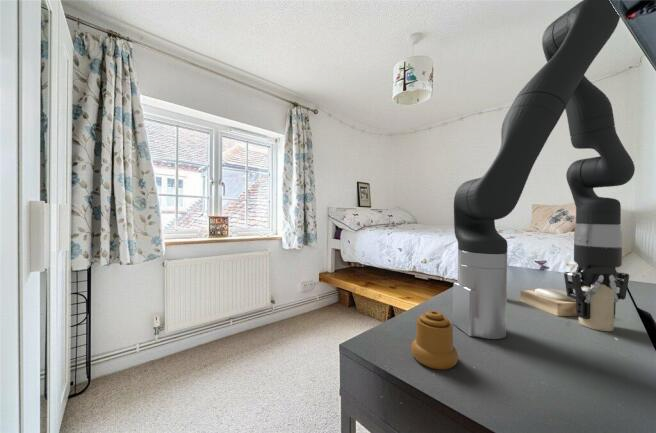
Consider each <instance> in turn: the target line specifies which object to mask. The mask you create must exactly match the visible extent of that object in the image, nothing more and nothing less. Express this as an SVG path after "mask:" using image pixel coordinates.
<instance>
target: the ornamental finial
mask: <svg viewBox="0 0 656 433" xmlns="http://www.w3.org/2000/svg"><path fill="white" fill-rule="evenodd" d="M453 325H454V324H453V322H451V321H450V319H449V318H448V317H447V316H445V315H444V314H443V313H442V312H440V311H437V310H431V309H430V310H427V311H426V312H425V313H421V314H420V316H418V317H417V318H416V330H415V339H413V341H412V343H411V349H410V350H411V354H412V356H413V357H414V358H415V360H416V361H417V362H419V364H421V365H423V366H425V367H427V368H431V369H435V370H449V369H452V368H453V367H455V366H456V364H457V363H458V361H459V354H458V351H457V349H456V347H455V346H454V333H453V330H454V329H453V328H454V327H453Z"/></svg>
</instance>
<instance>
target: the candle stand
mask: <svg viewBox="0 0 656 433" xmlns="http://www.w3.org/2000/svg"><path fill="white" fill-rule="evenodd" d="M519 299H520V302H522V303H524V304H526V305H528V306H532V307H533V308H536V309H538V310H541V311H543V312H546V313H548V314H552V315H554V316H557V317H567V316H568V317H570V316H573V317H574V316H575V317H578V316H577V313H576V300H575V299H573V298H571V297H568V296H567V291H564V290H561V289H554V288H553V289H552V288H539V287H538V288H535V289H533V290H532V289H530V290H529V289H527V290H525V289H524V290H523V289H522V290H520V298H519Z"/></svg>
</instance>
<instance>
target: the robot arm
mask: <svg viewBox="0 0 656 433" xmlns="http://www.w3.org/2000/svg"><path fill="white" fill-rule="evenodd" d="M620 18H621V15H620V16H619V15H618V14H617V12H616V11H615V9H614V8H613V6H612V4H611V3H610V1H609V0H581V1H580V2H579V3H577V4H575V5H574V6H573V7H572V8H570V9H569V10H567V11H566V12H565V13H563V14H562V15H560V16H559V17H558V18H556V19H555V20H554V21H553V22H551V23H550V24H549V25H548V26H547V27H546V29H544V32H543V35H542V40H541V42H542V43H541V45H542V51H543V54H544V57H545V60H546V62H545V64H544V65H543V66H542V67H541V68H540V69H539V70H538V71H537V73H536V74H534V76H532V78H530V80H529V81H528V82H527V83H526V84H525V85H524V86H523V88H522V89H521V90H520V91H519V93H518V94H517V95H516V97H515V99H514V100H513V102H512V104H511V105H510V108H509V109H508V111H507V113H506V114H505V117H504V118H503V122H502V125H501V132H500V134H501V135H500V136H501V144H500V149H499V151H498V153H497V155H496V157H495V158H494V160H493V162H492V164H490V166H489V168H488V169H487V171H486V172H485V173H484V175H483V176H481V177H478V178H474V179H470V180H467V181H464V182H463V183H462V184H461V185H459V186H458V188H457V189H456V191H455V194H454V198H453V223H454V224H453V226H454V227H453V230H454V236H455V238H456V241H457V281H455V282H454V283H453V285H452V286H453V288H452V289H453V292H452V293H453V294H452V295H453V296H452V297H453V298H452V301H453V302H452V303H453V304H452V325H454V326H455V327H456V328H458V329H460V330H461V331H462V332H463V333H465V334H466V335H468V337H477V338H481V339H482V338H483V339H487V340H500V339H504V338H505V337H506V336H507V312H508V311H507V306H508V305H507V304H508V303H507V301H508V300H507V299H508V298H507V296H508V295H507V294H508V292H507V290H508V240H507V239H506V238H505V237H504V236H502V235H501V234H500V233H499V232H498V230H497V228H496V223H495V221H497V220H501V219H503V218H506V217H508V215H510V214H511V213H512V212H513V211H514V209H515V208H516V205H517V204H518V203H519V200H520V198H521V196H522V194H523V191H524V189H525V186H526V183H527V181H528V178H529V176H530V174H531V172H532V169H533V167H534V165H535V163H536V161H537V159H538V157H539V156H540V154H541V152H542V150H543V149H544V146H545V145H546V143H547V141H548V139H549V137H550V135H551V134H552V132H553V130H554V129H555V127H556V125H557V124H558V122H559V120H560V118H561V116H562V115H563V114H564V111H565V114H566V118H567V123H568V131H569V136H570V141H571V142H570V143H571V146H572V147H573V148H574V149H579V150H582V149H583V150H584V149H585V150H586V149H590V150H594V151H595V152H597V153H598V155H599V156H594V157H588V158H582V159H578V160H575V161H573V162H572V163H571V164H570V165H569V167H568V168H567V171H566V174H565V175H566V176H565V177H566V182H567V185H568V187H569V189H570V190H569V191H570V192H571V195H572V199H573V201H574V205H575V228H574V232H573V262H574V263H576V264H577V268H576V270H575V271H574V272H570V271H564V272H563V276H564V283H565V290H566V291H565V292H567V296H568V297H571V298H573V299H575V300H576V313H577V316H576V317H578V318H579V317H581V318H583V319H590V303H589V302H590V301H591V298H592V295H593V294H596V291H597V290H598V288H599V285H600V284H602V285H606V286H607V287H609V288H610V289H612V290H613V291H614V319H615V316H616V305H617V304H616V303H618V302H619V300H623V301H624V300H626V297H627V291H628V285H629V280H630V274H629V273H625V272H621V271H617V270H616V268H620V267H622V260H623V259H622V258H623V254H622V253H623V234H622V233H623V232H622V228H621V227H622V226H621V224H622V223H621V218H622V217H621V214H622V212H621V211H622V206H621V202H620V200H619V199H616V198H611V197H603V196H598V195H597V194H596V192H595V191H594V189H597V188H609V187H619V186H623V185H625V184H627V183H629V182H630V181H631V179H633V176H634V175H635V171H636V170H635V163H634V161H633V159H632V157H631V156H630V154H629V152H628V151H627V150H626V148H625V146H624V145H623V143H622V141H621V139H620V137H619V136H618V133H617V129H616V126H615V125H616V124H615V117H614V111H613V106H612V102H611V100H610V99H609V98H608V96H607V95H606V94H605V93H604V91H602V90H601V89H600V88H599V87H597V86H596V85H595V84H593V82H591V81H590V80H589V79H588V78H587V76H585V75H586V73H587V71H588V69H589V68H590V66H591V64H592V63H593V62H594V60H595V59H596V57H597V56H598V55H599V53H600V52H601V50H602V49H603V48H604V46H605V45H606V44H607V42H608V41H609V39H610V38H611V37H612V35H613V34H614V32H615V30H616V29H617V27H618V24H619V21H620ZM583 285H584V286H587V287H590V288H589V289H588V288H584V287H582V286H583ZM618 288H619V290H618ZM582 291H585V292H586V294H585V296H583V293H582Z"/></svg>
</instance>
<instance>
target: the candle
mask: <svg viewBox="0 0 656 433" xmlns="http://www.w3.org/2000/svg"><path fill="white" fill-rule="evenodd" d="M582 287H584V288H588V289H589V288H590V287H587V286H584V285H583V286H582ZM582 293H583V296H585V294H586V292H585V291H582ZM589 303H590V319H583V318H581V317H578V323H579V325H581V326H583V327H586V328H589V329H593V330H596V331H597V330H598V331H602V332H613V331H614V326H615V325H614V322H615V318H614V291H613V290H612V289H610V288H609V287H607V286H606V285H602V284H600V285H599V288H598V290H597V291H596V294H593V295H592V298H591V301H590V302H589Z"/></svg>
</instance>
